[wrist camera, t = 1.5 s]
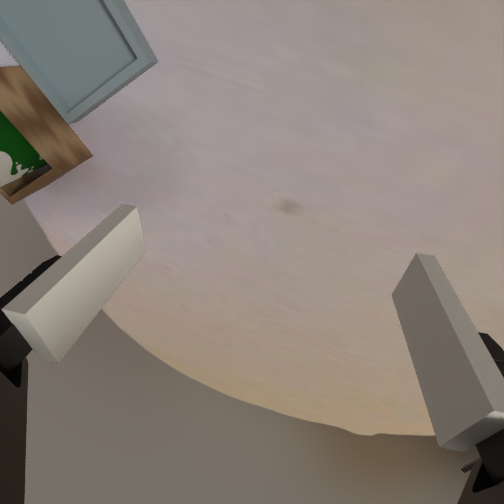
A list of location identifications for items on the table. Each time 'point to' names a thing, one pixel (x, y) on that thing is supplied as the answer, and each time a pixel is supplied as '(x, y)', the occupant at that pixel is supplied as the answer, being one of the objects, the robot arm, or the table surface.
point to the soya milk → (16, 153)
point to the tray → (75, 49)
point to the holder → (37, 132)
